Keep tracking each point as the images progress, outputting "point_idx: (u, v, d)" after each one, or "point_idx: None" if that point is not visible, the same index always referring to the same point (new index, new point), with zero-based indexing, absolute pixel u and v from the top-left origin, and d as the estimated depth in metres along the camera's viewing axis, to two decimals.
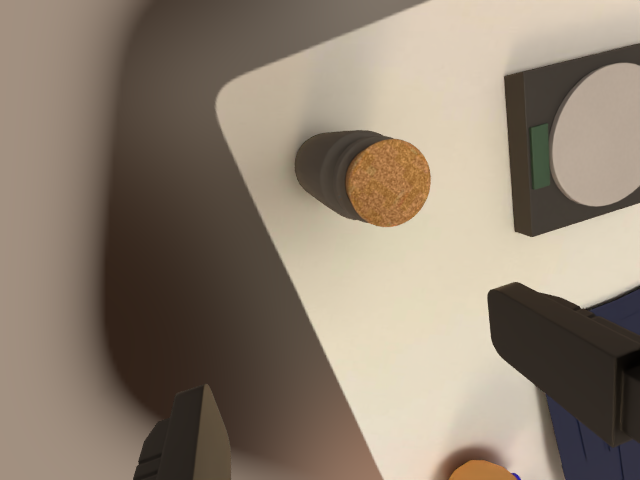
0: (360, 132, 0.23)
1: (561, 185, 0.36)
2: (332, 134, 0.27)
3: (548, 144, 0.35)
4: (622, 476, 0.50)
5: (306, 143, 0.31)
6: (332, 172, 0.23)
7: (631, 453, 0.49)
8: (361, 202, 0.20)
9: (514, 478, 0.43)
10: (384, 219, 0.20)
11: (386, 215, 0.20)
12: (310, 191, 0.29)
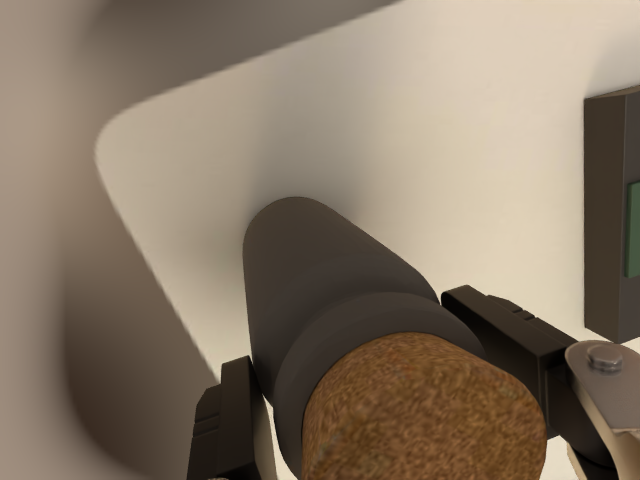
0: (347, 259, 0.10)
1: None
2: (294, 230, 0.13)
3: None
4: None
5: (258, 220, 0.18)
6: (279, 358, 0.10)
7: None
8: None
9: None
10: None
11: None
12: None
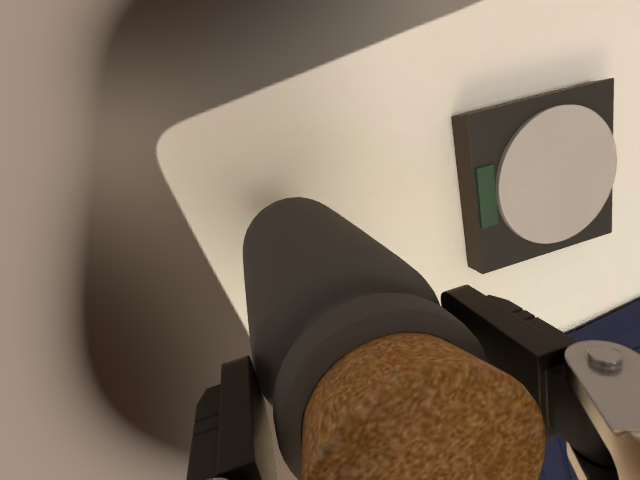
0: (346, 260, 0.10)
1: (509, 224, 0.37)
2: (294, 230, 0.13)
3: (495, 184, 0.35)
4: None
5: (258, 220, 0.18)
6: (279, 358, 0.10)
7: None
8: None
9: None
10: None
11: None
12: None
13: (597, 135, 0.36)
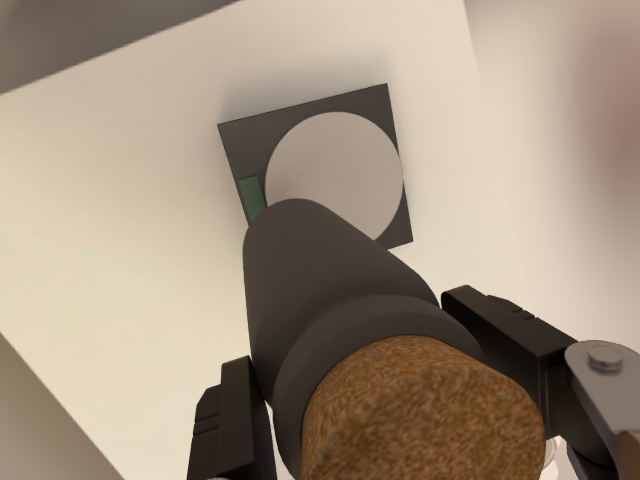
0: (346, 262, 0.10)
1: None
2: (293, 231, 0.13)
3: (263, 196, 0.34)
4: None
5: (258, 221, 0.18)
6: (279, 360, 0.10)
7: None
8: None
9: None
10: None
11: None
12: None
13: (374, 143, 0.35)
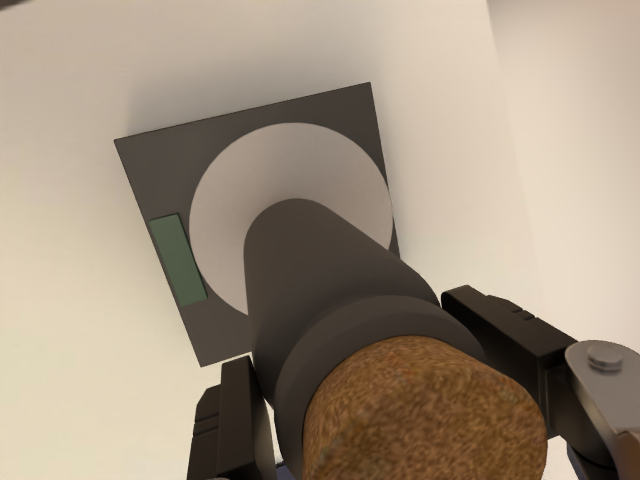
0: (347, 262, 0.10)
1: (223, 299, 0.25)
2: (294, 231, 0.13)
3: (187, 243, 0.23)
4: None
5: (258, 221, 0.18)
6: (280, 360, 0.10)
7: None
8: None
9: None
10: None
11: None
12: None
13: (350, 168, 0.24)
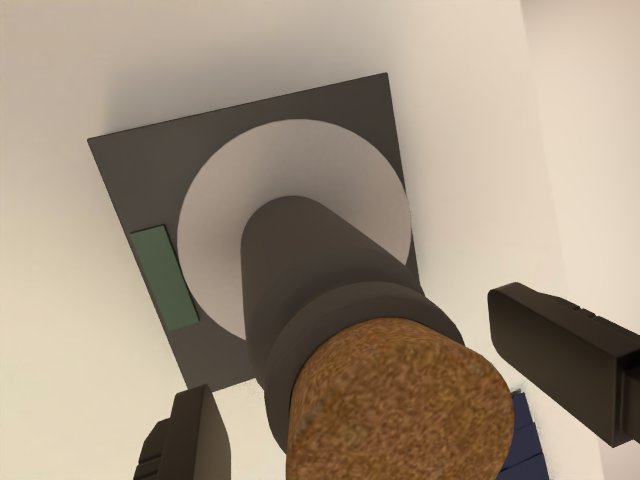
0: (335, 252, 0.10)
1: (218, 322, 0.21)
2: (287, 226, 0.14)
3: (175, 259, 0.20)
4: None
5: (255, 217, 0.19)
6: (271, 344, 0.10)
7: None
8: None
9: None
10: None
11: None
12: None
13: (364, 171, 0.21)
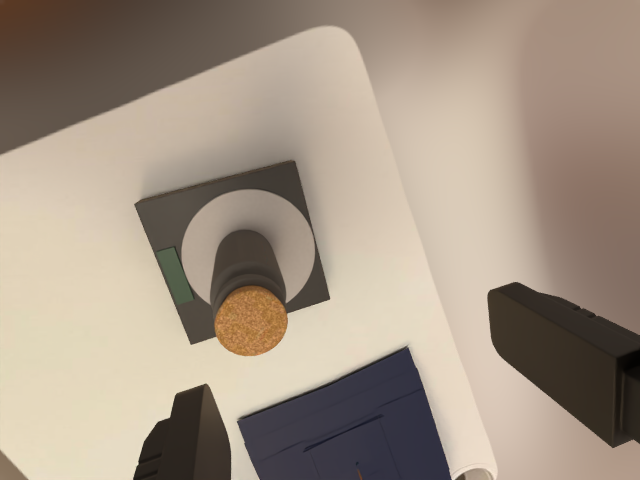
0: (242, 263, 0.27)
1: (204, 300, 0.38)
2: (231, 250, 0.31)
3: (180, 265, 0.37)
4: None
5: (222, 243, 0.36)
6: None
7: None
8: (226, 340, 0.24)
9: None
10: (249, 351, 0.24)
11: (250, 347, 0.24)
12: None
13: (284, 215, 0.38)
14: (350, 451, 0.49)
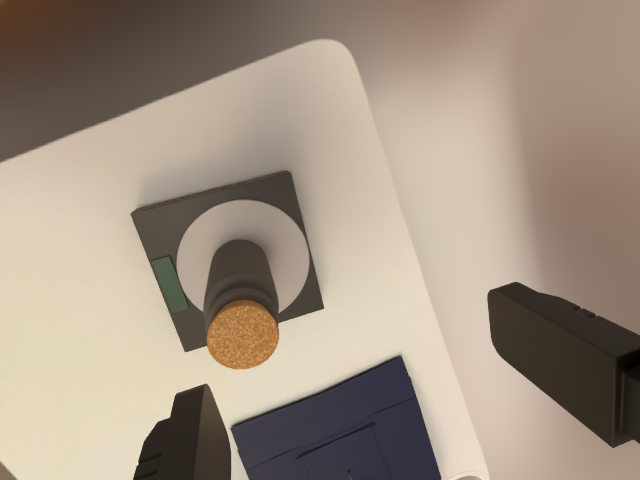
0: (235, 276, 0.28)
1: (199, 308, 0.39)
2: (225, 262, 0.31)
3: (175, 273, 0.38)
4: None
5: (217, 253, 0.36)
6: None
7: None
8: (218, 353, 0.24)
9: None
10: (240, 364, 0.25)
11: (241, 361, 0.25)
12: None
13: (279, 225, 0.38)
14: (342, 458, 0.49)
